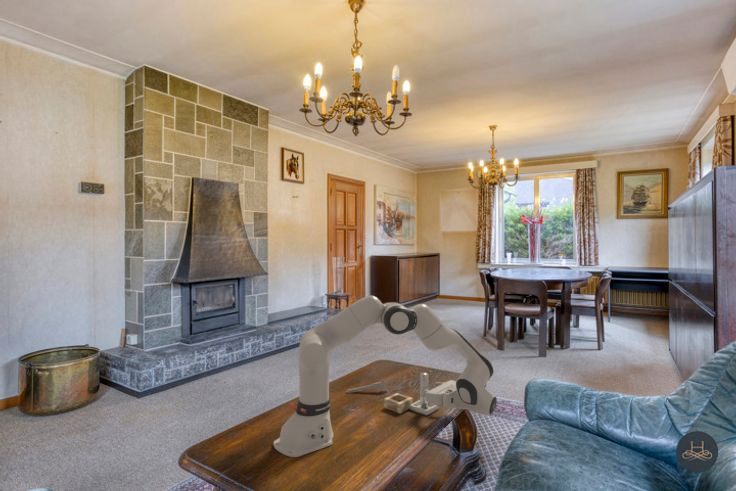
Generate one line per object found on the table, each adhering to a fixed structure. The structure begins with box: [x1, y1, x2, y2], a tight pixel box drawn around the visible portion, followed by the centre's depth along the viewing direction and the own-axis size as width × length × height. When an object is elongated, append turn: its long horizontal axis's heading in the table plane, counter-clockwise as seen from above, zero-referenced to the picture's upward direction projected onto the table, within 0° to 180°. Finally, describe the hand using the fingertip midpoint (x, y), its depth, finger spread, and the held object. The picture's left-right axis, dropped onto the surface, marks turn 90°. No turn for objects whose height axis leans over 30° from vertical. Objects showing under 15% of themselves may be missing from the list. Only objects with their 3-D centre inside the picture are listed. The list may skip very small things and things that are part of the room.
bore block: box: [383, 392, 414, 414], centre depth 174 cm, size 9×9×4 cm
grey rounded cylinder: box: [419, 371, 430, 410], centre depth 171 cm, size 4×4×15 cm
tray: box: [409, 399, 440, 417], centre depth 172 cm, size 9×9×2 cm
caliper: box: [345, 379, 388, 394], centre depth 192 cm, size 20×1×6 cm, turn 94°
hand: (428, 387), depth 170 cm, fingers open, 8 cm apart
